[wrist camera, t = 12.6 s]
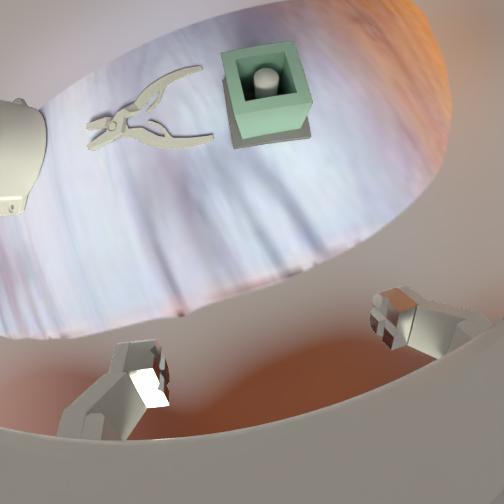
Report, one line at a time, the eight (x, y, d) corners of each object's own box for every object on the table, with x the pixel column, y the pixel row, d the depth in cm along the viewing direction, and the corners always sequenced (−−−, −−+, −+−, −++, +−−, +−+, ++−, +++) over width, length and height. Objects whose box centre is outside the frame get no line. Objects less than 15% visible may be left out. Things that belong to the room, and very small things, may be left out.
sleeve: (242, 139, 27) (234, 115, 19) (231, 88, 26) (220, 52, 18) (300, 128, 27) (313, 102, 19) (286, 78, 26) (293, 40, 18)
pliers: (212, 139, 27) (89, 175, 28) (214, 142, 29) (96, 176, 30) (199, 60, 26) (84, 101, 27) (202, 66, 27) (91, 105, 28)
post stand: (234, 149, 28) (223, 130, 21) (223, 83, 27) (211, 48, 19) (309, 138, 28) (325, 116, 20) (295, 73, 27) (304, 36, 19)
